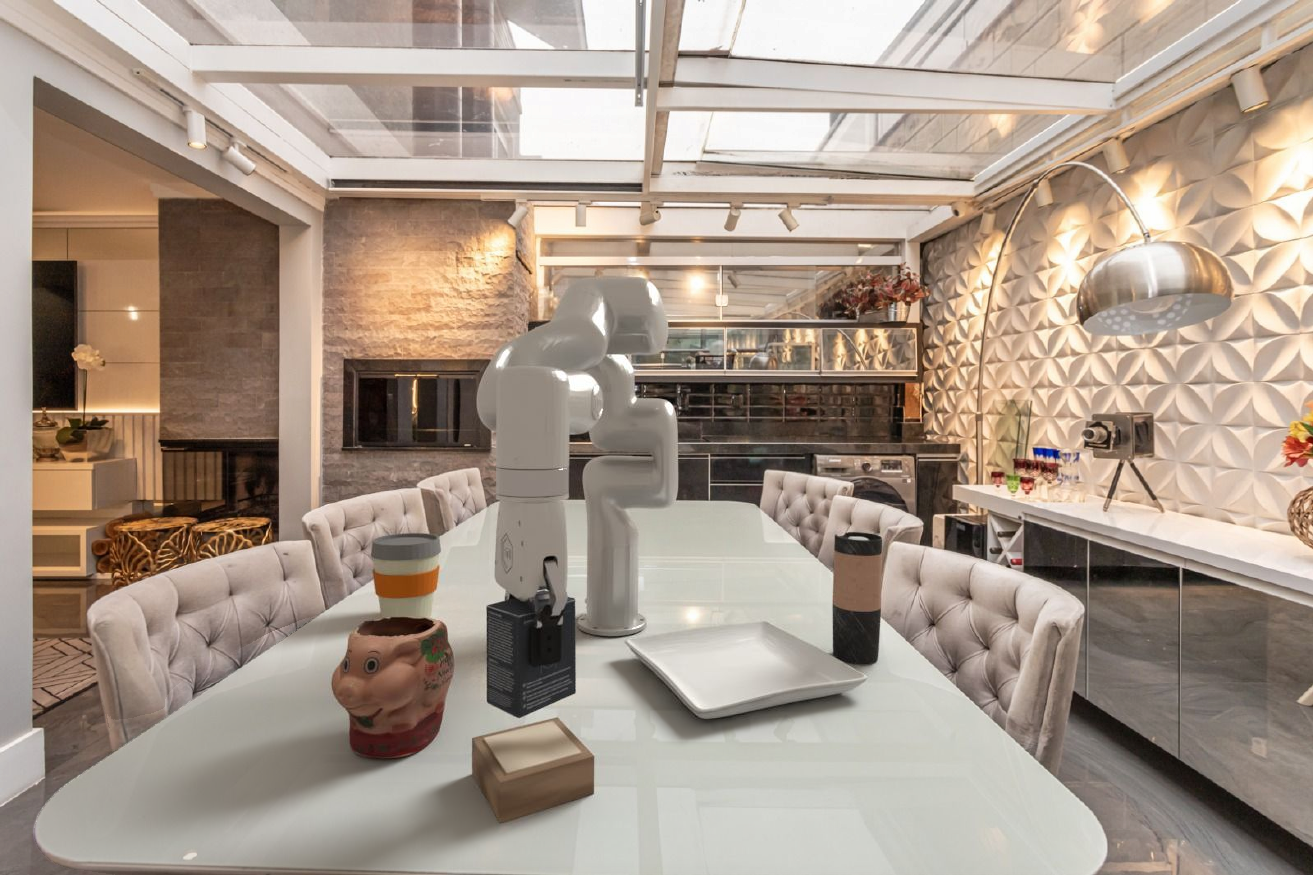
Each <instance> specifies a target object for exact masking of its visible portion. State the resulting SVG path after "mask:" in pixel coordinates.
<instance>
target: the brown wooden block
mask: <svg viewBox="0 0 1313 875" xmlns="http://www.w3.org/2000/svg"><path fill="white" fill-rule="evenodd" d="M471 775H472V776H473V779H474V780H475V782H476V783H477V785H478V787H479V789H480V790H481V793H482V794H483V796H484V798H485V799H486V801H487V803H488V805H489V807H490V808H491V810H492V811H493V814H494V815H495V817H496V819H497V820H498V822H499V823H500V824H501V823H502V824H503V823H505V822H508V821H512V820H514V819H519V818H521V817H524V816H528V815H532V814H533V813H537V812H540V811H543V810H547V809H549V808H553V807H557V806H559V805H562V804H565V803H569V802H572V801H574V800H579V799H580V798H581V799H582V798H585V797H588V796H592V795H593V794H595V755H594V754H593V753H592V752H591V751H590V750H589V749H588V748H587V747H586V745H585V744H584V743H583V742H582V741H581V740H580V739H579V738H578V737H577V736H576V735H575V734H574V733H573V732H572V730H570V728H568V726H567V725H566V724H565V723H564V722H563V721H562V720H561V719H560V717H554V718H553V717H552V718H548V719H544V720H541V721H536V722H532V723H527V724H525V725H524V724H523V725H520V726H515V727H512V728H511V727H510V728H508V729H502V730H500V731H496V732H491V733H487V734H483V735H479V736H474V737H471Z"/></svg>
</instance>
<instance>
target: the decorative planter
mask: <svg viewBox="0 0 1313 875" xmlns="http://www.w3.org/2000/svg"><path fill="white" fill-rule="evenodd" d="M454 657H455V656H454V652H453V648H452V646H451V644H450V642H449V634H448V628H447V625H446V623H444V622H443V621H442V620H438V619H434V618H432V617H429V618H427V617H415V616H399V617H387V618H377V619H372V620H364V621H363V622H362V623H360V624H359V625H358V626H357V627H356V628H355V629H354V630H353V631H352V632H350V634H349V635H348V639H347V648H346V652H345V656H344V658H343V659H342V660H341V662H339V665H338V666H337V667H336V668H335V670H334V671H333V673H332V677H331V691H332V694H333V696H334V698H335V699H336V701H337V702H338V704H339V705H340V706H341V707H342V708H344V709H345V710H346V712H347V713H348V718H349V719H348V720H349V730H348V731H349V732H348V733H349V734H348V736H349V746H350V749H351V751H353V752H355V754H358V755H360V756H363V757H367V758H377V759H393V758H394V759H395V758H401V757H407V756H409V755H413V754H416V753H417V752H419V751H422V750H424V749H425V748H426V747H428V746H429V745H430V744H431V743H432V742H433V741H434V740H435V738H436V737H437V736H438V735H439V733H440V728H441V726H442V722H443V717H444V711H445V705H446V700H447V695H448V692H449V688H450V686H451V682H452V680H453V677H454V672H455V658H454Z"/></svg>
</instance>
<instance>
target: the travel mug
mask: <svg viewBox="0 0 1313 875" xmlns="http://www.w3.org/2000/svg"><path fill="white" fill-rule="evenodd" d="M833 543H834V548H833V576H832V577H833V579H832V654H833V655H832V656H833V657H835V658H837V659H838V660H840V661H842V662H843V663H845V664H851V665H856V666H857V665H859V666H863V665H864V666H865V665H868V666H869V665H872V664H875V663H877V662H878V661H879V660H878V659H879V651H880V650H879V649H880V635H881V617H882V616H881V615H882V589H883V588H882V586H883V585H882V584H883V582H882V578H883V577H882V575H883V572H882V571H883V537H882V536H880V535H878V534H875V533H874V534H873V533H868V532H861V531H860V532H859V531H858V532H857V531H848V532H847V531H846V533H844V535H839V536H838V535H837V533H835V534H834V542H833Z"/></svg>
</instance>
